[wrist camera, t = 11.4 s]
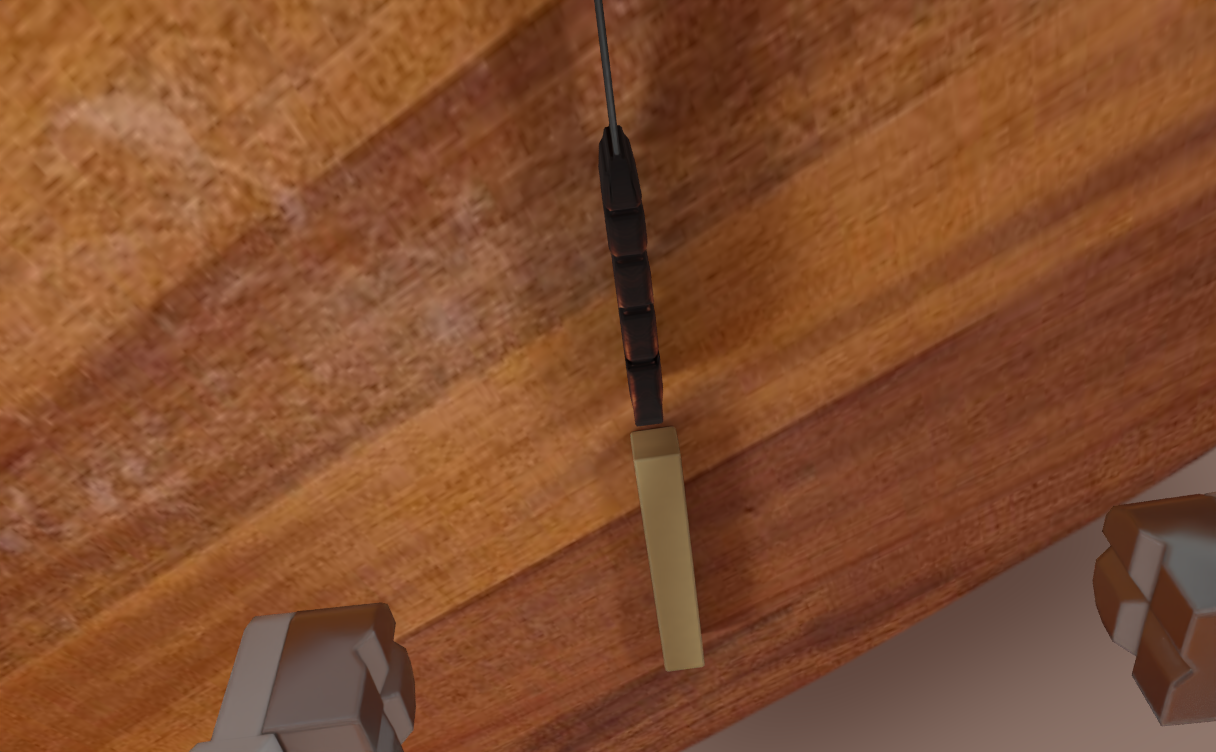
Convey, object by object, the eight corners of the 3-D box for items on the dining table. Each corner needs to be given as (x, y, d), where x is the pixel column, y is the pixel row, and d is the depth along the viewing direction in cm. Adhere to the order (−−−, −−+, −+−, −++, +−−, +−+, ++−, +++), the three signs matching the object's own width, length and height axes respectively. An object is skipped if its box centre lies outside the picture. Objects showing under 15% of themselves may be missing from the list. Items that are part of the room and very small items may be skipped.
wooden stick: (675, 424, 31) (680, 454, 30) (699, 636, 37) (705, 667, 36) (629, 431, 31) (633, 460, 30) (661, 641, 37) (665, 672, 36)
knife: (537, -291, 20) (538, -281, 18) (584, -299, 20) (591, -289, 18) (627, 385, 30) (635, 451, 28) (658, 381, 30) (669, 447, 28)
